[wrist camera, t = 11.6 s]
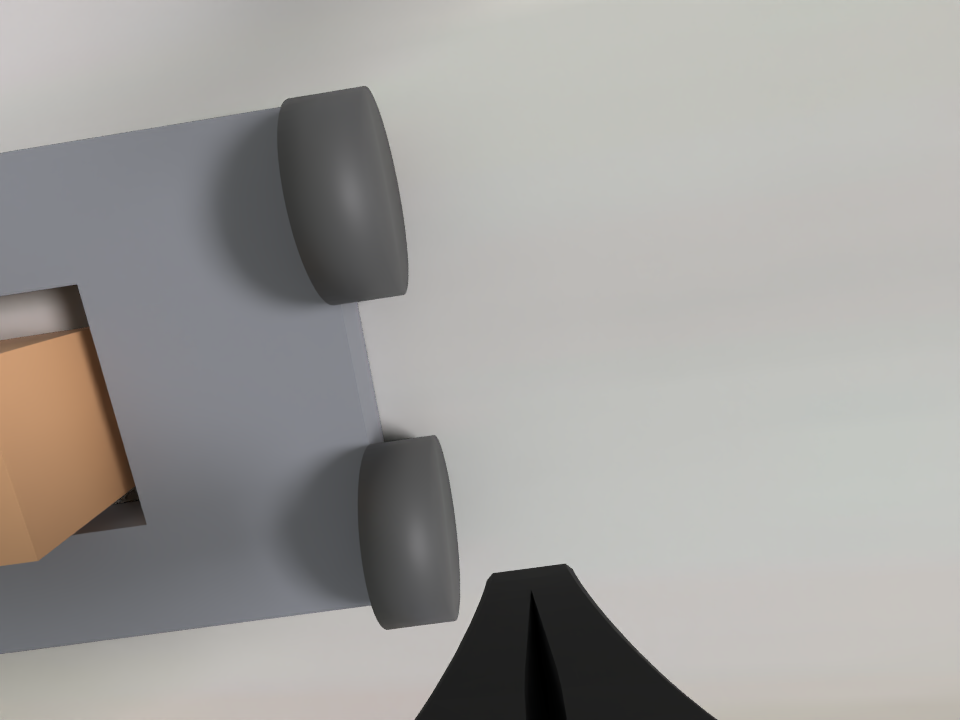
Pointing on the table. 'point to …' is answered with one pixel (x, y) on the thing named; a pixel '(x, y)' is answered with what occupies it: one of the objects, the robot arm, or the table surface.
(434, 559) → the chassis
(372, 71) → the table surface
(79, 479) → the block
